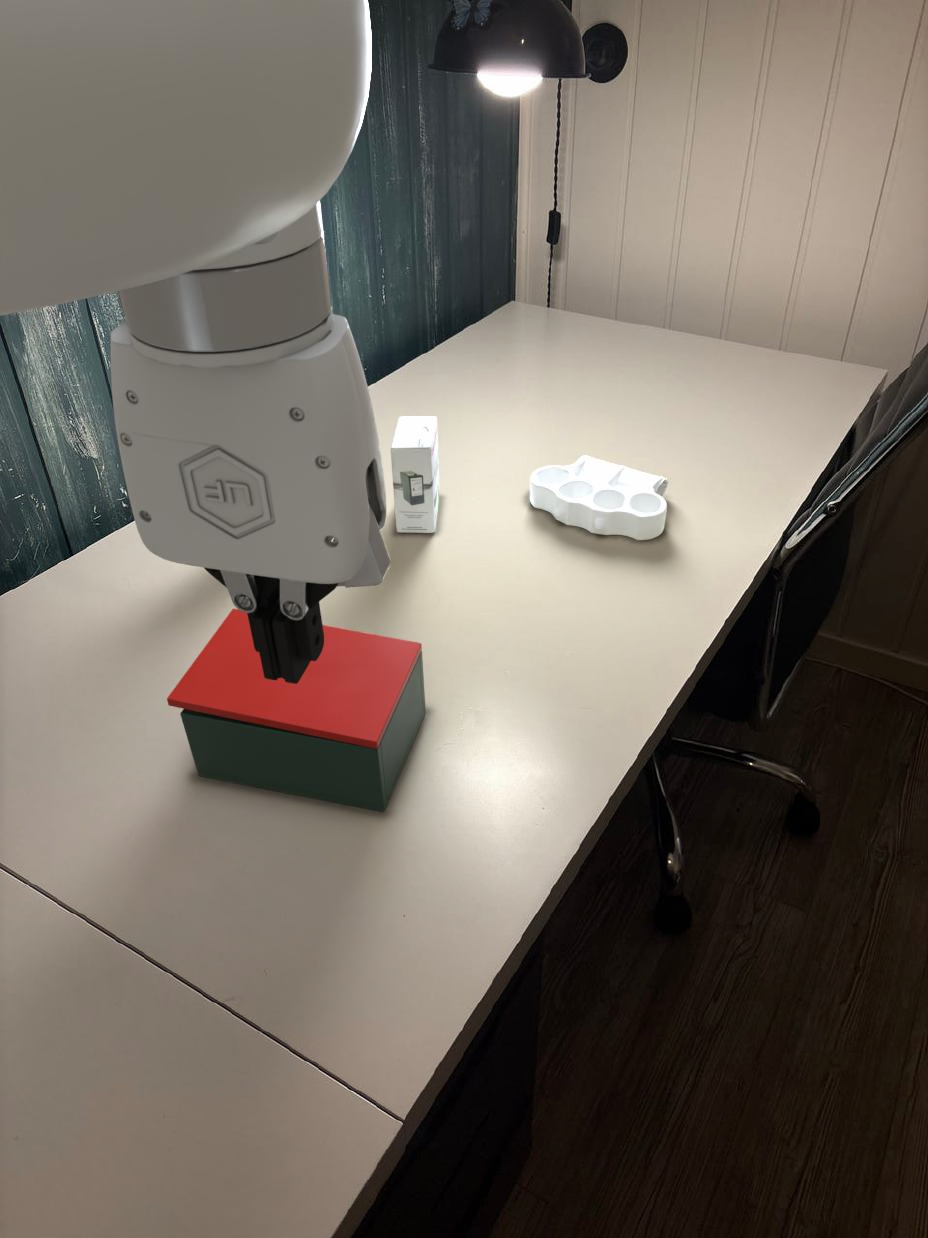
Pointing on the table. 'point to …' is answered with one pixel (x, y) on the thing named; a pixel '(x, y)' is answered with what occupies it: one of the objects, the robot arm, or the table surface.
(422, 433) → the ink box
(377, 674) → the lid
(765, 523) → the table surface
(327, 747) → the box
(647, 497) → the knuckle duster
